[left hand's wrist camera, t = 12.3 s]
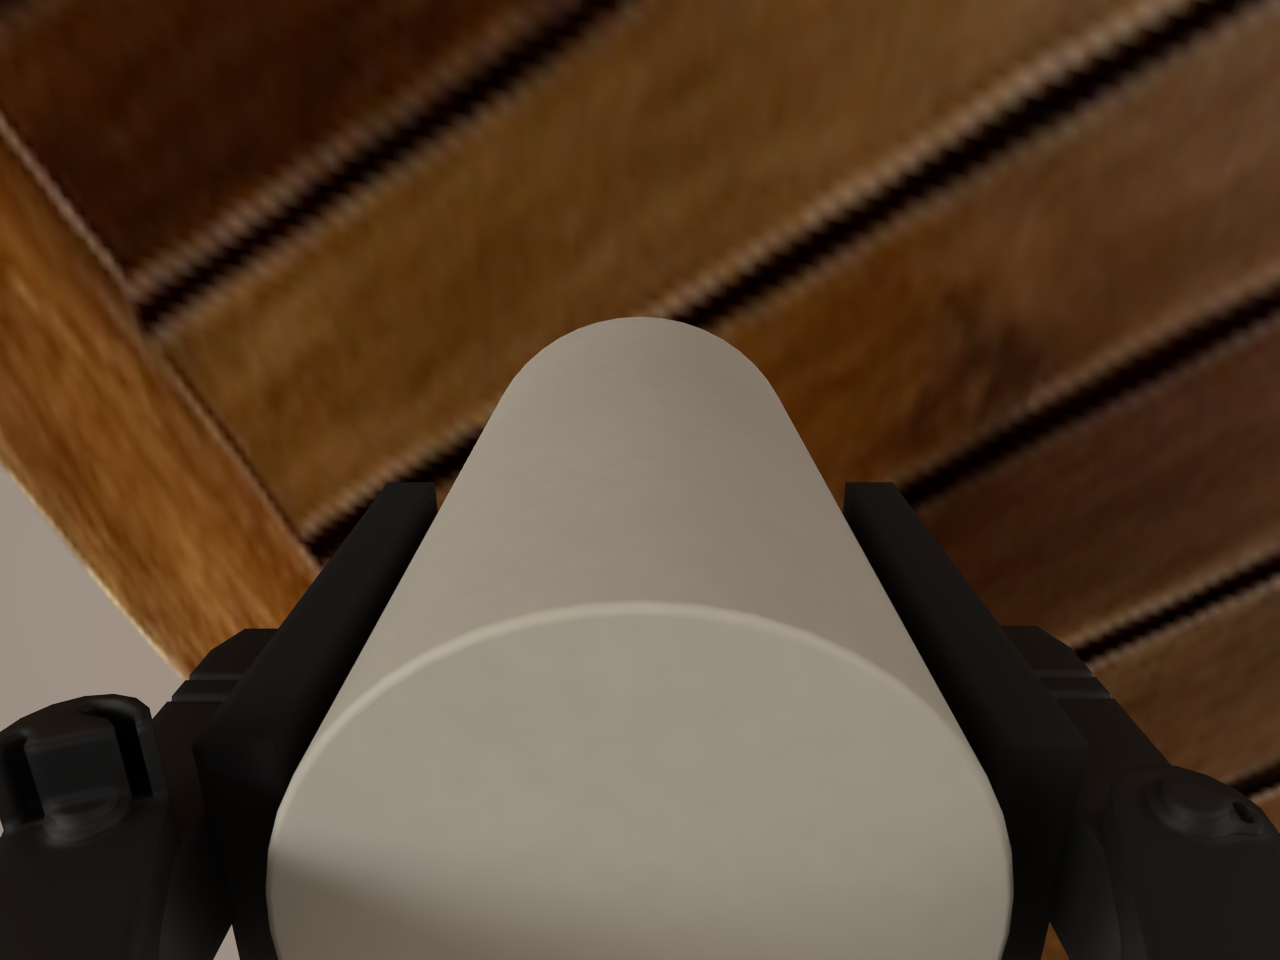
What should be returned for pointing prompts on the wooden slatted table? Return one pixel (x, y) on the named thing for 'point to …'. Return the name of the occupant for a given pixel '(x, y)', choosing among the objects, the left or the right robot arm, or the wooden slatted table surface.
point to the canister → (639, 704)
